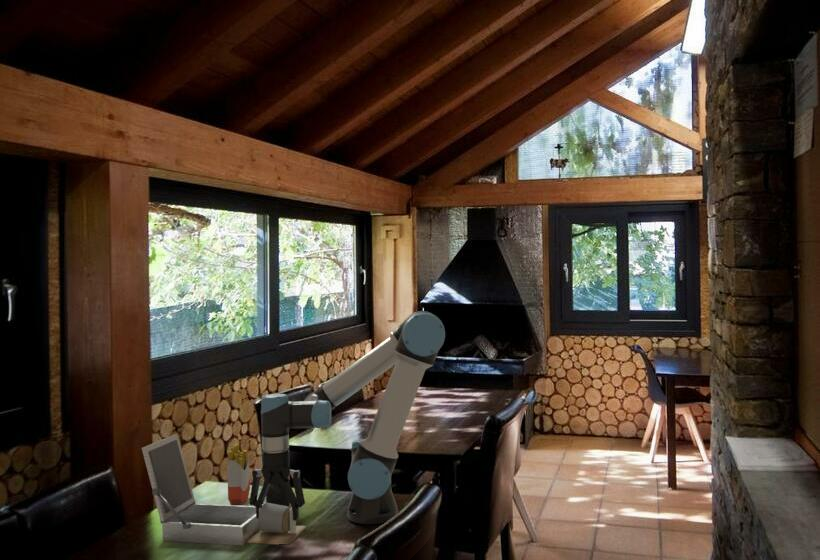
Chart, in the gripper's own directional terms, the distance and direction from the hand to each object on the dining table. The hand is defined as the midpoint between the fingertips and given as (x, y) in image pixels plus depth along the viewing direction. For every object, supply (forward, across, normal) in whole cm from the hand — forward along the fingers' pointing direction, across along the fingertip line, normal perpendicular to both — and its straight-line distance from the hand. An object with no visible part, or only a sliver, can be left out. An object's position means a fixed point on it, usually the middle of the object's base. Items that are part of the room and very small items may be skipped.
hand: (277, 530), depth 194 cm
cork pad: (+1, 0, 0) cm, 1 cm away
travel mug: (+2, +10, -23) cm, 25 cm away
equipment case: (+1, +22, +1) cm, 22 cm away
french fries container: (+2, +25, -27) cm, 37 cm away
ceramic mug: (0, 0, -1) cm, 1 cm away
